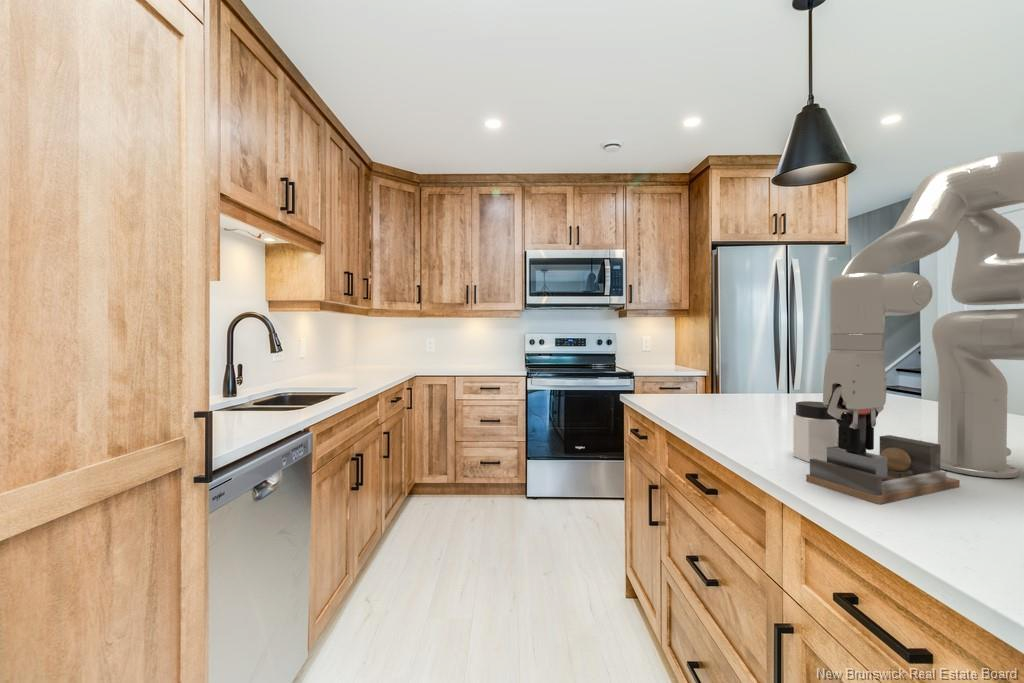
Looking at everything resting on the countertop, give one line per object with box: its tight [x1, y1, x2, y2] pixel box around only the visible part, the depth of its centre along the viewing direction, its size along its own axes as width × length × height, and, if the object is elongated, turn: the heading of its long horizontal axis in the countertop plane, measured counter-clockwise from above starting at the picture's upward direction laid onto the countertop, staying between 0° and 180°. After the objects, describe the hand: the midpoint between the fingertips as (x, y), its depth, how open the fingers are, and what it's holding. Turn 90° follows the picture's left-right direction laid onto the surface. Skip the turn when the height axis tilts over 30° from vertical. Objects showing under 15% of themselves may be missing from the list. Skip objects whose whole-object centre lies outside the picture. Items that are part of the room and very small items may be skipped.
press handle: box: [827, 405, 887, 482], centre depth 77 cm, size 4×8×13 cm, turn 20°
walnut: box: [879, 447, 911, 472], centre depth 81 cm, size 4×4×4 cm
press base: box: [805, 434, 961, 505], centre depth 80 cm, size 22×12×7 cm, turn 110°
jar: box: [792, 400, 838, 463], centre depth 95 cm, size 9×8×12 cm
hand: (855, 448), depth 77 cm, fingers closed on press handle, 2 cm apart
